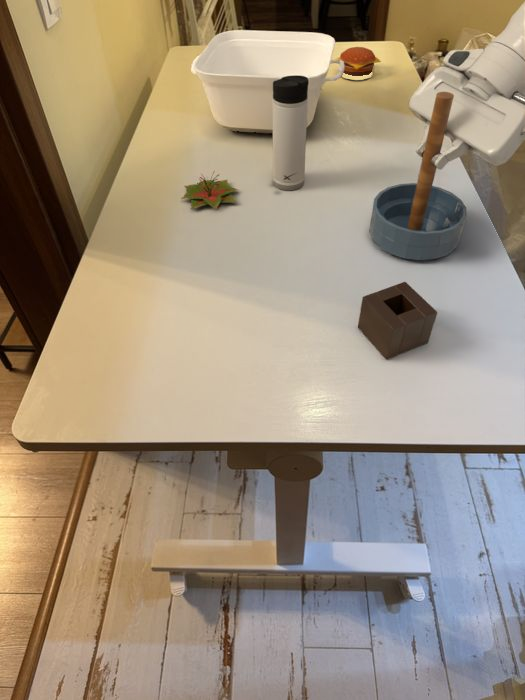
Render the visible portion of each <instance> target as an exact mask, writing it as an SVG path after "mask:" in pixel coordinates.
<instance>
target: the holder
mask: <svg viewBox="0 0 525 700" xmlns="http://www.w3.org/2000/svg"><path fill="white" fill-rule="evenodd" d="M361 298H362V299H361V304H360V305H361V306H360V311H359V317H358V323H357V329H358V330H359V331H360V332H361V333H362V334H363V336H365V337H366V339H367V340H368V341H369V342H370V344H371V345H372V346H373V347H374V348H375V349H376V350H377V351H378V352H379V354H380V355H381V356H382V357H383V358H384V359H385V361H387V360H389V359H392V358H394V357H396V356H399V355H401V354H404V353H407V352H409V351H411V350H414V349H416V348H419V347H421V346H424V345H426V344H428V343H429V341H430V338H431V334H432V331H433V328H434V325H435V322H436V318H437V317H438V311H437V310H436V309H435V308H434V307H433V306H432V305H431V304H429V303H428V302H427V300H425V298H423V297H422V296H421V295H420V294H419V293H418V292H417V291H416V290H415V289H414V288H413V287H412V286H411V285H409V283H408V282H407V281H402V282H400V283H398V284H394V285H392V286H389V287H386V288H383V289H380V290H377V291H374V292H372V293H369V294H367V295H364V296H362V297H361Z"/></svg>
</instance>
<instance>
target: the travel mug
mask: <svg viewBox="0 0 525 700" xmlns="http://www.w3.org/2000/svg"><path fill="white" fill-rule="evenodd" d="M308 84H309V81H308V78H307V77H305V76H299V75H293V76H285V77H282V79H279V80H277V81H274V82H273V134H272V182H273V186H274V187H276V188H277V189H279V190H283V191H296V190H298V189H300V188H301V187H303V186H304V184H305V174H306V173H305V169H306V168H305V167H306V151H307V150H306V146H307V128H308V127H307V104H308V101H307V100H308V93H307V92H308ZM306 127H307V128H306Z"/></svg>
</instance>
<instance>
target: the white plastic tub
mask: <svg viewBox="0 0 525 700" xmlns="http://www.w3.org/2000/svg"><path fill="white" fill-rule="evenodd" d="M335 46H336V40H335V38H334V37H332V36H331V35H329V34H325V33H322V32H314V31H313V32H309V31H283V30H282V31H280V30H278V31H277V30H256V29H255V30H251V29H235V30H234V29H233V30H227V31H222V32H221V33H217V34H215V35H214V36H212V39H211V40H210V41H209V42H208V44H207V45H206V47H205V48H204V49H203V51H202V52H201V53H200V54H198V55H197V56H196V57H194V59H193V60H192V63H191V65H190V72H191V73H192V74H193V75H195V76H197V77H198V78H199V79H200V81H201V83H202V85H203V89H204V92H205V96H206V98H207V101H208V105H209V108H210V111H211V114H212V117H213V119H214V121H216V122H217V123H218V125H220V126H222V127H223V128H225V129H226V130H228V131H232V132H237V131H239V133H254V132H256V134H257V133H258V134H271V133H272V135H273V82H274V81H277V80H279V79H282V77H285V76H293V75H299V76H305V77H307V78H308V81H309V84H308V92H307V93H308V100H307V101H308V104H307V127H306V129H307V128H308V127H309V126H310V125H311V123H312V122H313V120H314V117H315V114H316V110H317V106H318V103H319V97H320V94H322V93H321V92H322V90H323V86H324V85H325V83H327V82H336V81H338V80H339V79H341V78H342V75H343V72H344V62H343V61H342V60H339V59H337V58H336V59H337V60H335V59H332V58H333V54H334V50H335ZM332 64H337V65H338V68H337V73H336V74H335V75H334V76H332V77H327V76H328V73H329V70H330V66H331V65H332Z"/></svg>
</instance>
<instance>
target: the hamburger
mask: <svg viewBox="0 0 525 700" xmlns="http://www.w3.org/2000/svg"><path fill="white" fill-rule="evenodd" d="M337 59H339V60H342V61H343V62H344V72H343V73H345V74H348V75H352V76H363V75H369V74H370V73H371V72H372V70H374V67H375V63H376V64H377V63H381V62H382V61H381V60H380V59H379V58H378V57H377V56H376V55H375V53H374V51H373V50H371V49H369V48H367V47H363V46H353V47H348V48H347V49H346V50H344V51H342V52H341V53H340V55H339V57H337V58H335V59H334V60H337Z"/></svg>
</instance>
